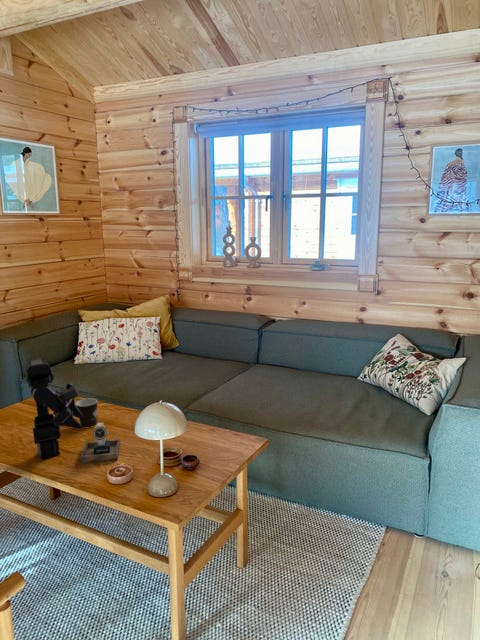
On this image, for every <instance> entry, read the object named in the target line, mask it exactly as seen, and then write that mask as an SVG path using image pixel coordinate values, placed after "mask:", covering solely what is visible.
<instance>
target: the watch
mask: <svg viewBox="0 0 480 640" xmlns="http://www.w3.org/2000/svg"><path fill="white" fill-rule="evenodd" d="M108 434H109V431H108V430H107V428H106V426H105V425H104V422H97V424H96V425H95V426H94V429H93V431H92V436H93V438H94V441H96V442H94V455H97V454H108V453H110V440H111V439H108V440H109V441H105V440H106V438H107V435H108Z"/></svg>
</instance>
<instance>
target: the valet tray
mask: <svg viewBox="0 0 480 640" xmlns="http://www.w3.org/2000/svg"><path fill="white" fill-rule="evenodd" d="M109 440H110V453H108V454H97V455H94V442H96V440H94V441H85V443H84V446H83V449H82V450H81V451H82V452H81V454H80V464H82V465H83V464H95V463H104V462H115V461H118V460H119V455H120V451H121V446H122V443H121V439H120V438H116V439H107V440H105V441H109Z"/></svg>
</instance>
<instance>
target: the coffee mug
mask: <svg viewBox="0 0 480 640" xmlns="http://www.w3.org/2000/svg"><path fill="white" fill-rule="evenodd" d="M75 405H76V407H77V408H78V409H79V411H80V412H81V413H82V415H83V416H84V417H83V418H82V419H80V418H78V420H79V423H80V424H81V425H82V428H83V427H90V428H92V427H91V426H93V427H95V426H96V425H97V423H98V400H97V399H96V398H93V397H92V398H90V397H89V398H82V399H80V400H78V401H77V402H76V401H75ZM94 425H95V426H94Z"/></svg>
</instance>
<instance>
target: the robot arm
mask: <svg viewBox="0 0 480 640" xmlns="http://www.w3.org/2000/svg"><path fill="white" fill-rule="evenodd" d="M24 373H25V381H26V383H27V384H28V387H29V389H30V395H31V396H32V397H33V401H34V402H35V406H36V413H37V416H35V417H34V421H33V424H34V427H32V434H33V441H34V445H36V446H37V452H36V455H37V457H38V458H40V459H41V460H42V461H45V459H46V460H48V459H51V458H54V457H57V456H59V454H60V455H61V452H60V442H59V440H60V438H61V437H62V436H61V427H67V428H72V429H78V430H81V429H83V427H82V425H81V424H80V421H78V420H77V419H79V418H80V419H82V418H83V417H84V416H83V415H82V413H81V412H80V411H79V409H78V408H77V407H76V398H77V397H79V394H80V391H79V388H78V387H77V385H76V384H73V383H71V382H69V383H67V384H66V385H65V389H63V390H61V391H60V390H59V389H56V390H55V389H53V388H52V387H51V386H49V384H53V381H54V380H55V379H54V378H55V376H54V373H53V368H52V367H51V365H50V364H48V362H44V359H43V358H42V357H41V358H32V359H29V360H28V365H27V366H26V367H25V368H24ZM49 410H50V411H52V413H50V411H49ZM75 417H76V418H77V419H76V418H75Z"/></svg>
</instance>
